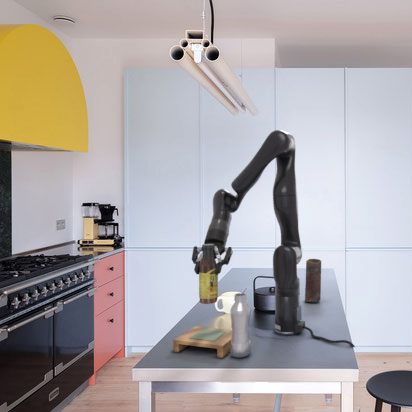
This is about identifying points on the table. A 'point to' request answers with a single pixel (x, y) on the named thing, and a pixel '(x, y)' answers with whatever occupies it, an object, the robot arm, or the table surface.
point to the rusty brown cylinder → (313, 280)
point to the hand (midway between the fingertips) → (206, 273)
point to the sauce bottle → (208, 276)
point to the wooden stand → (205, 339)
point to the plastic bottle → (240, 327)
